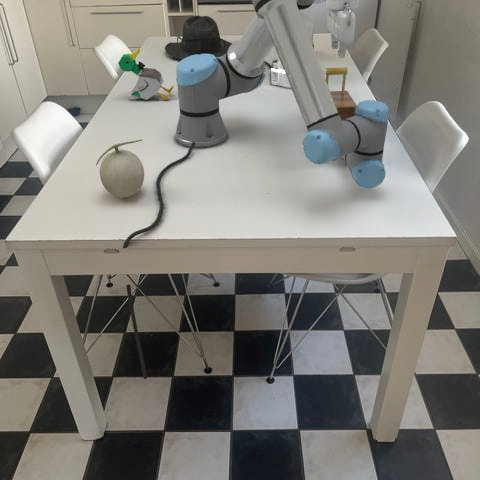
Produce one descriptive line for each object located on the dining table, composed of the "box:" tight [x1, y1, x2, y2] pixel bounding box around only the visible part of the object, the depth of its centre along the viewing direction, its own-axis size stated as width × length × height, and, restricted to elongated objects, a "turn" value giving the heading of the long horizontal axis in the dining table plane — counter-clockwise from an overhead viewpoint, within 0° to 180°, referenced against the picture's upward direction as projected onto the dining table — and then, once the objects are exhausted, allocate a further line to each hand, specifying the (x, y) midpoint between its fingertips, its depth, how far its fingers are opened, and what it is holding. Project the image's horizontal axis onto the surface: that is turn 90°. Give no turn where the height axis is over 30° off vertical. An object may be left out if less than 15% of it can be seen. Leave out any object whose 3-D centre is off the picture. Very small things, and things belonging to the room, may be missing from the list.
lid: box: [324, 66, 358, 111], centre depth 150 cm, size 14×9×9 cm
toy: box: [117, 47, 175, 101], centre depth 181 cm, size 6×17×20 cm
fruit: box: [95, 139, 145, 199], centre depth 124 cm, size 10×12×15 cm
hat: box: [164, 15, 233, 60], centre depth 230 cm, size 32×35×14 cm
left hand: (337, 116), depth 151 cm, fingers closed on chest, 9 cm apart
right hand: (337, 52), depth 147 cm, fingers open, 8 cm apart
